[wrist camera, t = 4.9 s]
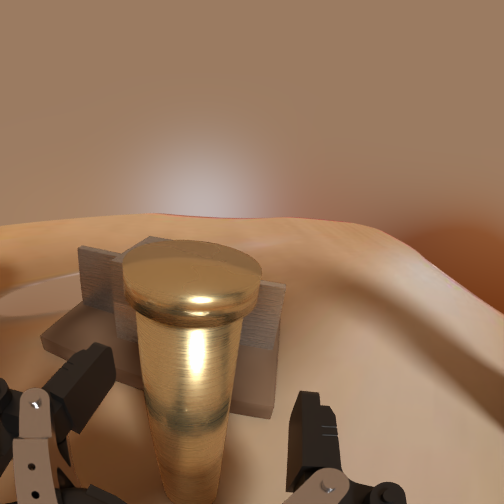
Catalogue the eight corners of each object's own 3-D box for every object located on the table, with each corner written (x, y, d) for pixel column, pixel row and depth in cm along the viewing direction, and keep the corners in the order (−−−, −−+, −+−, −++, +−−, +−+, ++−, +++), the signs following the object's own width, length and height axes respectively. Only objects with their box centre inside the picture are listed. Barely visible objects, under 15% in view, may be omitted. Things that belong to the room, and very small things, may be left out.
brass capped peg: (227, 472, 13) (266, 252, 9) (216, 520, 10) (253, 309, 6) (169, 458, 14) (157, 233, 9) (151, 503, 10) (94, 273, 6)
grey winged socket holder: (274, 326, 28) (288, 259, 25) (270, 373, 21) (288, 294, 19) (102, 288, 29) (99, 227, 27) (65, 318, 22) (55, 247, 20)
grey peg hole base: (278, 321, 31) (280, 309, 31) (270, 419, 18) (273, 406, 18) (115, 287, 33) (114, 276, 32) (43, 349, 19) (40, 335, 19)
